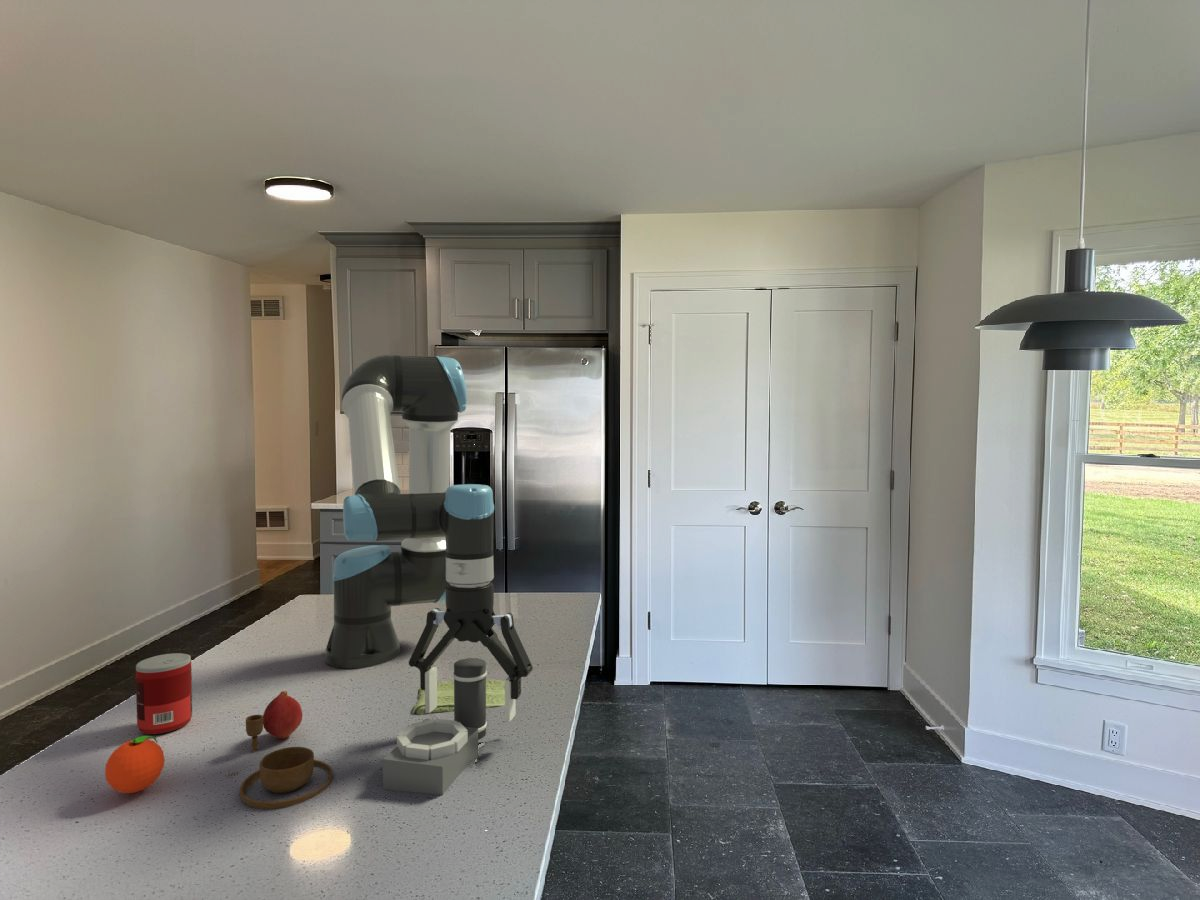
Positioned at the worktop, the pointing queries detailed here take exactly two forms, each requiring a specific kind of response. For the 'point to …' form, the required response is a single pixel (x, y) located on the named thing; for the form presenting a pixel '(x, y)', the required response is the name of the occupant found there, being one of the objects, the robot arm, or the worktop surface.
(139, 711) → the canned food
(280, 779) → the place setting
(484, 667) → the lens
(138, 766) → the clementine
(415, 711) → the washcloth
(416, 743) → the block with octagonal ring
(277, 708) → the onion
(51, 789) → the worktop surface
